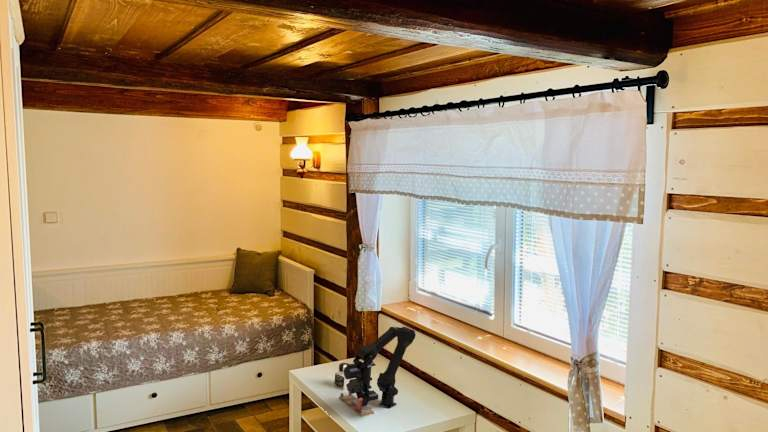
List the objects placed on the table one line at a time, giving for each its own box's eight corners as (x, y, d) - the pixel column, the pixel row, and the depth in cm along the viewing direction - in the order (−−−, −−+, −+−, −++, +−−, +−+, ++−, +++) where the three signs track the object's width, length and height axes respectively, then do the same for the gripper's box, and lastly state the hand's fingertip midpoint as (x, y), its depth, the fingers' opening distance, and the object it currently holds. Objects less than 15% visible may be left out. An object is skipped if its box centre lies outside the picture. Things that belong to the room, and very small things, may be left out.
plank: (339, 398, 277) (339, 391, 276) (351, 396, 280) (351, 389, 280) (361, 416, 258) (361, 409, 258) (374, 413, 262) (374, 406, 262)
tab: (349, 402, 271) (350, 393, 270) (356, 400, 273) (357, 391, 272) (359, 410, 262) (360, 401, 262) (367, 408, 264) (367, 399, 264)
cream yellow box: (334, 385, 292) (335, 363, 291) (344, 382, 297) (345, 360, 296) (343, 390, 287) (344, 367, 286) (353, 386, 293) (354, 364, 291)
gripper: (340, 369, 266) (337, 400, 268) (359, 386, 250) (356, 418, 253) (360, 366, 272) (357, 396, 274) (380, 382, 256) (377, 414, 259)
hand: (361, 406), depth 265 cm, fingers open, 4 cm apart
